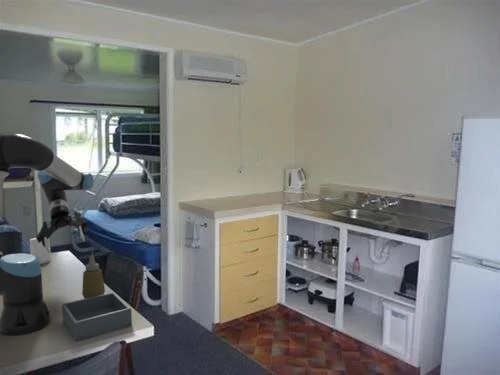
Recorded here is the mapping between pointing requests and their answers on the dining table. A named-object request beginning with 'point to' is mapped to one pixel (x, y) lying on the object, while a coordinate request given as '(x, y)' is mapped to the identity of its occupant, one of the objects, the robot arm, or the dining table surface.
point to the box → (96, 315)
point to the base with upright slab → (40, 251)
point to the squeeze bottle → (92, 280)
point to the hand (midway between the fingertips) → (65, 244)
